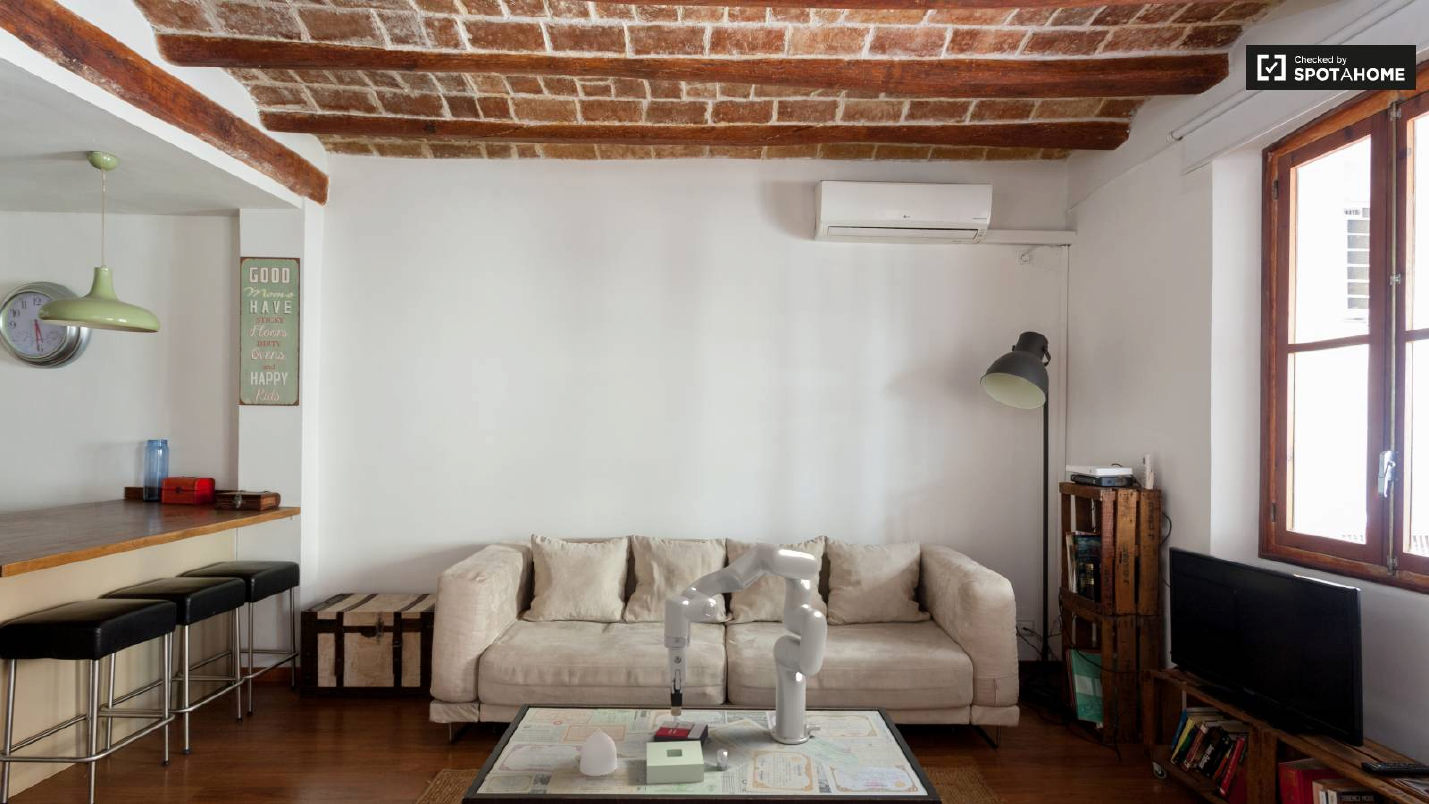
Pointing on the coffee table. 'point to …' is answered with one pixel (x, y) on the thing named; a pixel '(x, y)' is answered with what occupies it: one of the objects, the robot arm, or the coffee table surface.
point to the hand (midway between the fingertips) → (676, 703)
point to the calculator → (681, 732)
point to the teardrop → (598, 754)
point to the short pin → (722, 759)
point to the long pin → (675, 708)
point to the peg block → (674, 762)
